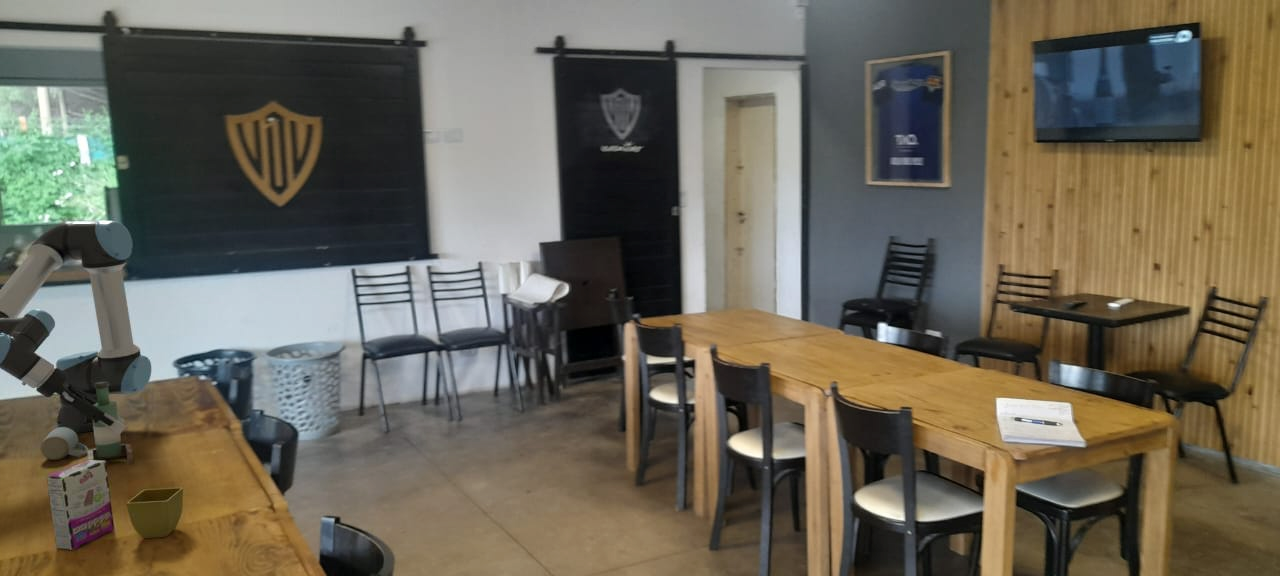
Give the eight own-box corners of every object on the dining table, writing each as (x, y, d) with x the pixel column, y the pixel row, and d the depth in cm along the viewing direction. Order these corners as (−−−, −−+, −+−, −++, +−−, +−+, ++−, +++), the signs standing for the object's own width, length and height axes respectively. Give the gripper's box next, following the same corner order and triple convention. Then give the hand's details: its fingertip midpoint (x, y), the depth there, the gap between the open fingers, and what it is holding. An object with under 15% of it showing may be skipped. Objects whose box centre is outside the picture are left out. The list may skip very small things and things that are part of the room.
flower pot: (147, 526, 208) (143, 488, 207) (187, 524, 209) (183, 486, 208) (129, 543, 200) (125, 503, 198) (171, 540, 200) (167, 501, 199)
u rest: (88, 460, 257) (87, 449, 256) (131, 453, 262) (130, 442, 261) (89, 470, 248) (88, 459, 247) (133, 463, 253) (132, 452, 253)
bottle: (104, 450, 257) (96, 380, 254) (126, 450, 257) (118, 380, 255) (92, 457, 251) (83, 386, 248) (114, 457, 251) (106, 385, 249)
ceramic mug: (40, 462, 255) (37, 436, 254) (49, 453, 263) (47, 427, 262) (83, 459, 258) (80, 432, 257) (91, 450, 266) (89, 424, 265)
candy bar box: (97, 528, 208) (89, 458, 206) (115, 530, 207) (107, 460, 204) (53, 549, 197) (45, 475, 195) (72, 551, 196) (63, 477, 194)
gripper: (35, 382, 251) (110, 430, 262) (33, 396, 235) (113, 447, 246) (56, 360, 253) (129, 409, 264) (55, 373, 237) (134, 424, 248)
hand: (121, 427), depth 255 cm, fingers closed on bottle, 6 cm apart
